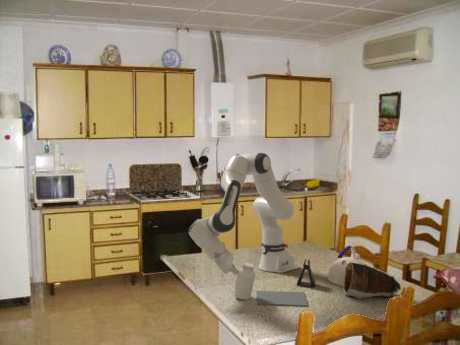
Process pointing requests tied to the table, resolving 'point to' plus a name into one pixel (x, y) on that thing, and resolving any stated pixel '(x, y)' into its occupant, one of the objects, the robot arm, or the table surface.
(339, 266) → the kettle
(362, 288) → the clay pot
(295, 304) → the mat
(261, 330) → the table surface
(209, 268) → the table surface
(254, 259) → the table surface
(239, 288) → the pill bottle
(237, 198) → the robot arm
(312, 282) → the phone stand
